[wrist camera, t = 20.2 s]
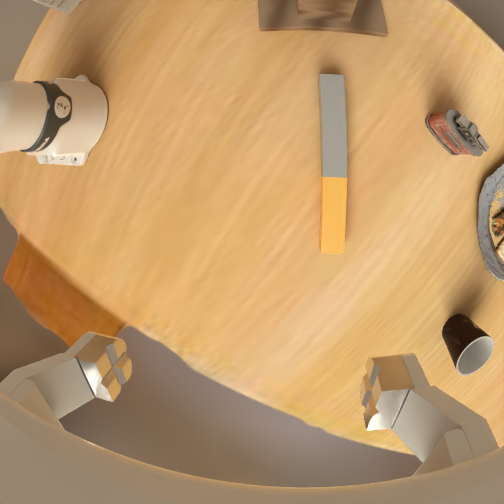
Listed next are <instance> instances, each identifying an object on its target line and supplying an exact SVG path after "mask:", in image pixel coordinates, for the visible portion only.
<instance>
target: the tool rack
mask: <svg viewBox="0 0 504 504" xmlns="http://www.w3.org/2000/svg"><path fill="white" fill-rule="evenodd" d="M258 5H259V25H260V30H261V31H278V30H318V31H337V32H349V33H359V34H367V35H374V36H381V37H386V36H387V34H388V32H387V27H386V22H385V17H384V12H383V8H382V4H381V0H258Z"/></svg>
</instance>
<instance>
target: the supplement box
mask: <svg viewBox="0 0 504 504" xmlns="http://www.w3.org/2000/svg"><path fill="white" fill-rule="evenodd" d="M33 1H34V2H37V3H40V4H42V5H45V6H47V7H50V8H53V9H55V10H58V11H60V12H63V13H65V14H68V15H69V14H71V12H72V11H73V10H74V9H75V8H76V7H77V6H78V5H79V3H80V2H81V1H82V0H33Z"/></svg>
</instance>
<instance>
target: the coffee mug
mask: <svg viewBox="0 0 504 504" xmlns="http://www.w3.org/2000/svg"><path fill="white" fill-rule="evenodd" d="M442 336H443V338H444V341H445V343H446V345H447V348H448V350H449V353H450V355H451V357H452V360H453V362H454V365H455V367H456V370H457V372H458V373H459V374H460V375H463V376H466V375H470V374H473V373H475V372H477V371H478V370H479V369H481V368H482V367H483V366H484V365H485V364H486V363H487V361H488V360H489V358H490V357H491V355H492V353H493V350H494V341H493V339H492V338H491V337H490V336H489V335H487V334H486V333H485V332H484V331H483V330H482V329H480V328H479V327H478V326H477V325H476V324H475V323H473V322H472V321H471V320H470V319H469V318H467V317H466V316H465V315H463V314H457V315H454V316H453V317H451V318H450V319H449V320H448V321H447V322H446V324H445V325H444V327H443V330H442Z"/></svg>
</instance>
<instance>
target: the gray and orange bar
mask: <svg viewBox="0 0 504 504" xmlns="http://www.w3.org/2000/svg"><path fill="white" fill-rule="evenodd" d="M318 86H319V105H320V133H321V213H320V243H319V247H320V252H321V253H331V254H344V241H345V224H346V200H347V126H346V102H345V86H344V75H336V74H319V79H318Z"/></svg>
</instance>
